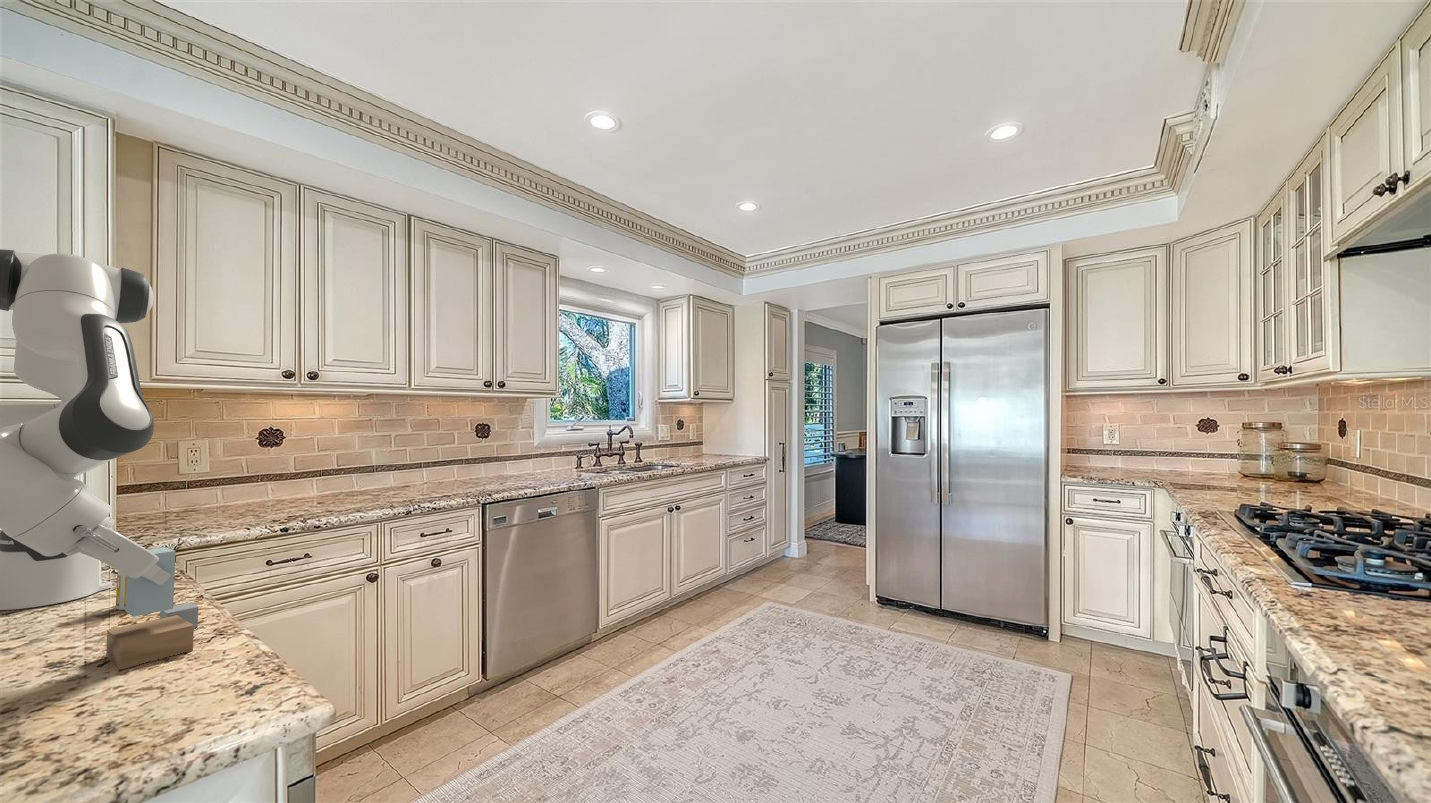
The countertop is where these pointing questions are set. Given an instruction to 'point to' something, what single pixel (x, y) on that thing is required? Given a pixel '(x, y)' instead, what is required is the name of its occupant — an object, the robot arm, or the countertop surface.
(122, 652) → the plinth
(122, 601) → the supplement bottle
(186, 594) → the countertop surface
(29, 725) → the countertop surface
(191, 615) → the block
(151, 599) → the pillar
